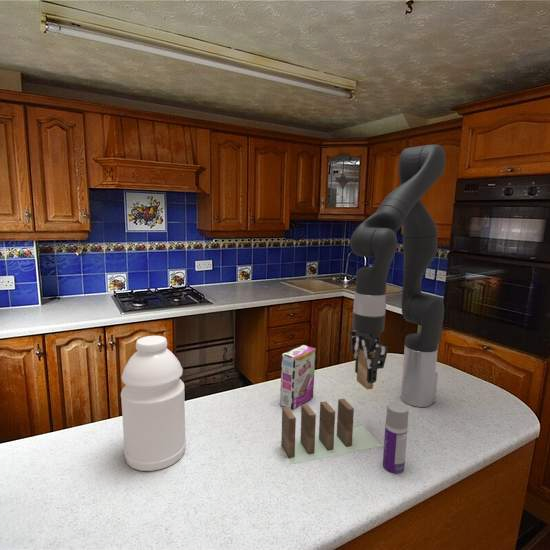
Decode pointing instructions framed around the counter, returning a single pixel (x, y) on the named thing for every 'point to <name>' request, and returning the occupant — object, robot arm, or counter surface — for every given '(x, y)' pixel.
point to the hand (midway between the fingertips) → (365, 377)
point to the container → (395, 438)
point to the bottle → (153, 406)
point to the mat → (359, 442)
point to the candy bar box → (297, 376)
